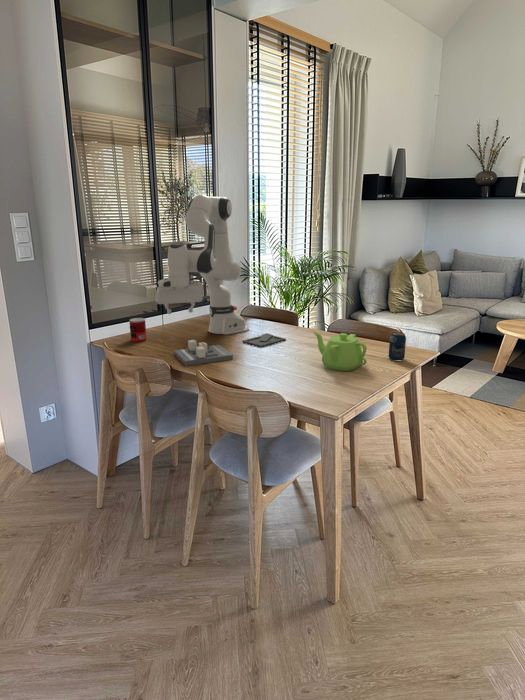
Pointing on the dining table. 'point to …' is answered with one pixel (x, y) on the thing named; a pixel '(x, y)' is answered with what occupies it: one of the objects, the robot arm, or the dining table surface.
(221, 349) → the panel
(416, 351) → the dining table surface
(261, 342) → the picture frame
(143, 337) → the canned food
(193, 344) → the block
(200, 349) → the breaker
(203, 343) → the breaker mid
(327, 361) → the teapot
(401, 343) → the soda can
